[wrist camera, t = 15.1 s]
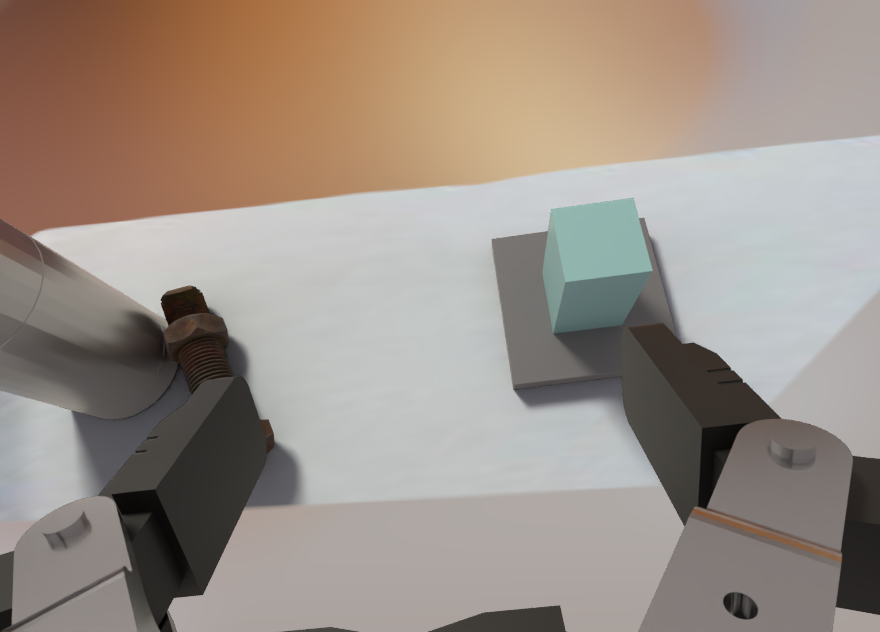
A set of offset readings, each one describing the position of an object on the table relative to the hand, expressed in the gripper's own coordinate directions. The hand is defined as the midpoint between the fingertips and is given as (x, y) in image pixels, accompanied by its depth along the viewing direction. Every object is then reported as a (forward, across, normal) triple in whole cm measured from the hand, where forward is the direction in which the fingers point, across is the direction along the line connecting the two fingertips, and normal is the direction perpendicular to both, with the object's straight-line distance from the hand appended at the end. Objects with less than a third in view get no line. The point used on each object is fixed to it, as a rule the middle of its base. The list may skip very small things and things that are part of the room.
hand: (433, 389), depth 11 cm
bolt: (+28, +20, +13) cm, 37 cm away
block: (+28, -9, +10) cm, 31 cm away
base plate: (+29, -9, +11) cm, 32 cm away
